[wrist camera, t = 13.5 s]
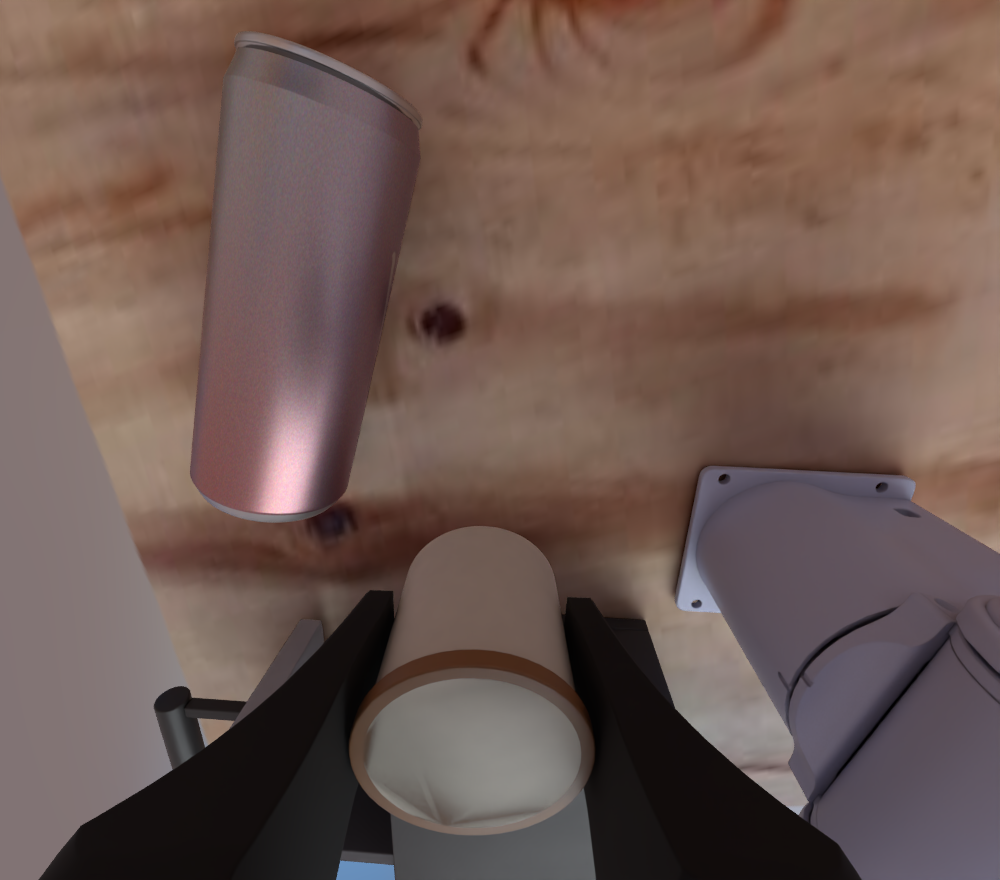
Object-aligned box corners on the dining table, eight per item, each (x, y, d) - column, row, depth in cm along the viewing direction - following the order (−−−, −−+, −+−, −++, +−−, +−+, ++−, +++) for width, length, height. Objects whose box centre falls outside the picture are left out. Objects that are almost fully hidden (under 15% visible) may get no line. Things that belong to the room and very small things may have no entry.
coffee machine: (433, 732, 28) (396, 914, 20) (430, 606, 25) (386, 764, 17) (622, 746, 28) (662, 938, 20) (645, 619, 25) (703, 788, 17)
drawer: (236, 724, 28) (150, 859, 21) (211, 612, 25) (103, 729, 19) (490, 743, 27) (480, 887, 21) (495, 630, 24) (484, 758, 18)
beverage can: (205, 447, 21) (241, 60, 16) (341, 462, 23) (411, 134, 18) (170, 524, 16) (209, -5, 11) (349, 533, 18) (448, 109, 13)
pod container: (570, 522, 13) (612, 670, 8) (554, 654, 14) (581, 839, 10) (396, 515, 13) (338, 661, 8) (402, 648, 14) (356, 833, 10)
